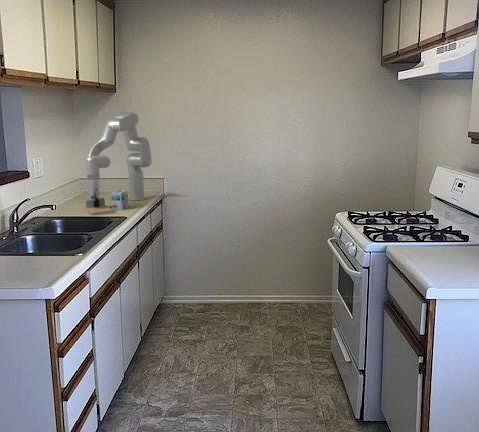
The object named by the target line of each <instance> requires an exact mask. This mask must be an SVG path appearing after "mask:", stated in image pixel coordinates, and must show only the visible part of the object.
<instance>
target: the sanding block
mask: <svg viewBox="0 0 479 432" xmlns="http://www.w3.org/2000/svg"><path fill="white" fill-rule="evenodd" d="M84 200H85V207H86V208H87V209H90V208H102V207H105V205H106V201H105V200H106V199H105V198H104V197H99V207H94V199H91V198H86V199H84Z"/></svg>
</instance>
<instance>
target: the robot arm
mask: <svg viewBox="0 0 479 432" xmlns="http://www.w3.org/2000/svg"><path fill="white" fill-rule="evenodd" d="M138 124H139V116H138V114H137V113H136V112H117V113H115V114H114V115H113V117H110V118H108V119H107V120H106V121H105V125H104V128H103V130H102V134H101V138H100V139H99V140H98V141H97V142H96V143H95V144H94V145H93V146H92V148H91V150H90V151H89V153H88V154H89V155H88V157H86V158H85V169H86V181H87V187H88V188H87V190H88V193H87V194H88V195H89V196H90V199H94V207H99V198H100V197H99V196H100V193H101V192H100V183H99V182H100V179H101V178H100V176H101V175H100V169H106V168H109V167H110V165H111V159H110V158H109V156H107V155H106V156H105V155H100V154H101V153H102V152H103V151H104V150H106V149H107V148H110V147H111V146H113V145H114V144H115V142H116V138H117V134H118V132H123V134H124V140H125V146H126V150H128V151H129V152H131V153H129V154H127V156H126V159H125V161H126V164H127V168H128V182H129V183H128V184H129V194H130V195H129V196H128V201H134V202H135V201H145V200H147V199H148V198H147V196H145V186H144V185H145V183H144V172H143V170H142V168H149V167H150V166H151V165H152V153H151V147H150V142H149V140H148V139H147V138H146V137H144V136H138V131H137V128H136V126H137V125H138Z"/></svg>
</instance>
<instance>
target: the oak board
mask: <svg viewBox="0 0 479 432" xmlns="http://www.w3.org/2000/svg"><path fill="white" fill-rule="evenodd" d="M82 210H83V211H84V212H86V213H87V214H88V215H90V216H95V215H96V216H97V215H98V216H99V215H105V214H106V215H107V214H115V212H116V210H113V209H112V207H110V206H108V205H106V204H105V207H102V208H90V209H87V208H86V206H84V207H83V206H82Z"/></svg>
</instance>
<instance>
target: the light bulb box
mask: <svg viewBox="0 0 479 432" xmlns="http://www.w3.org/2000/svg"><path fill="white" fill-rule="evenodd" d="M128 194H129V193H128V190H118V189H117V190H115V191H112V192H110V198H111V209H113V210H115V211H116V210H117V211H123V210H126V209H127V208H129V200H128V198H129V195H128Z"/></svg>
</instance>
